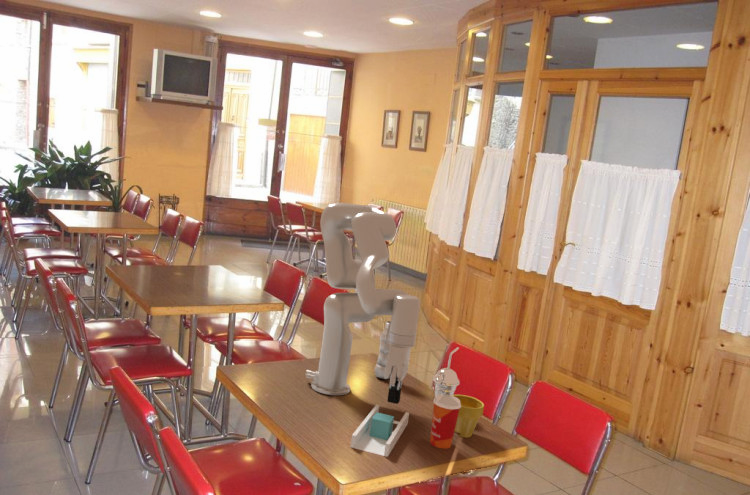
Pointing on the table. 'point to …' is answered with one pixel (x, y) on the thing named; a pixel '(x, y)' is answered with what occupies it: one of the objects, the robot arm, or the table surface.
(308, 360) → the table surface
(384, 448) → the trap channel
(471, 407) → the plant pot
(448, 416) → the paper cup
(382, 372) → the plastic bottle
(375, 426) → the teal block
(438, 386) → the cup with straw
